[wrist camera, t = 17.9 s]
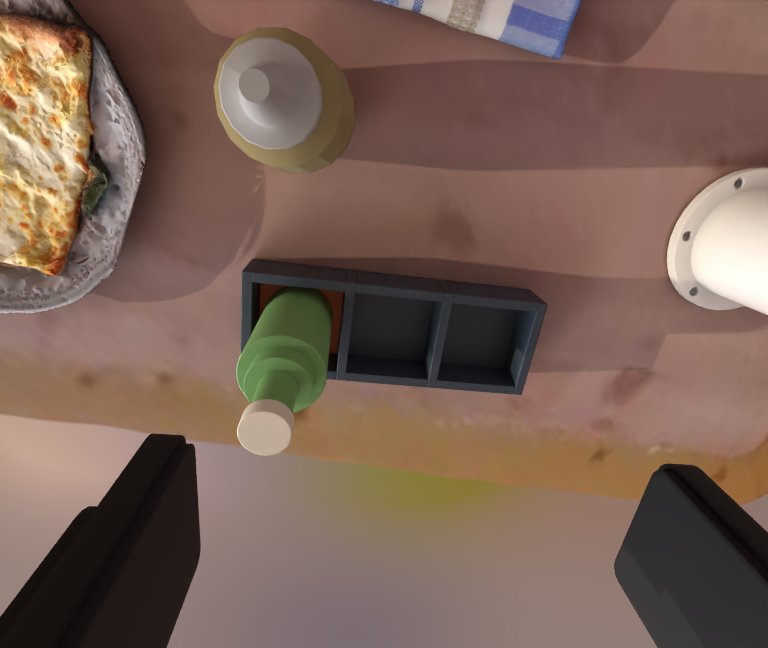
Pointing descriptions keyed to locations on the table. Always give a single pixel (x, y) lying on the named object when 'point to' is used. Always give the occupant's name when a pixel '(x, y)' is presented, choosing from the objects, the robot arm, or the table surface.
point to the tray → (410, 326)
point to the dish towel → (505, 20)
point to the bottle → (283, 366)
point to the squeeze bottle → (284, 100)
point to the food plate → (61, 156)
